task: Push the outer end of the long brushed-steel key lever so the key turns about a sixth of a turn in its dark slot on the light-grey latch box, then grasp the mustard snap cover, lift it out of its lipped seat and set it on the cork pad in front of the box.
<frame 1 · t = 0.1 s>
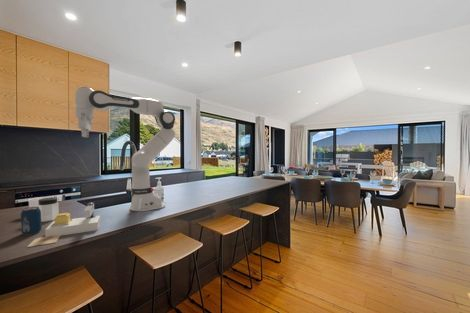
hand: (85, 137, 126), 48 cm above the countertop, fingers open, 8 cm apart
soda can: (31, 233, 100), on the countertop
jar: (48, 219, 119), on the countertop
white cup: (37, 214, 128), on the countertop
latch box: (75, 229, 104), on the countertop
t key: (89, 212, 106), point 8 cm above the countertop, hinge at 0.0°
cork pad: (45, 241, 91), on the countertop
snap cover: (62, 223, 102), point 4 cm above the countertop, touching latch box
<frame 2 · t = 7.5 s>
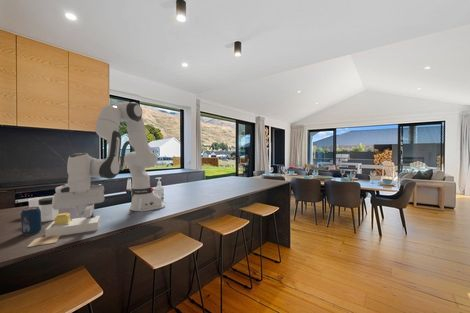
hand: (80, 214, 100), 9 cm above the countertop, fingers closed
t key: (89, 212, 106), point 8 cm above the countertop, hinge at 0.1°, touching gripper
everything else where it was.
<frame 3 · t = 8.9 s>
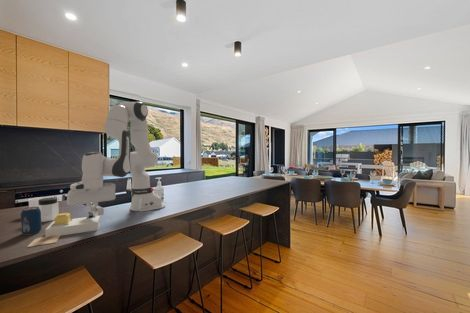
hand: (92, 211, 103), 9 cm above the countertop, fingers closed
t key: (94, 211, 108), point 8 cm above the countertop, hinge at 26.4°, touching gripper
everything else where it was.
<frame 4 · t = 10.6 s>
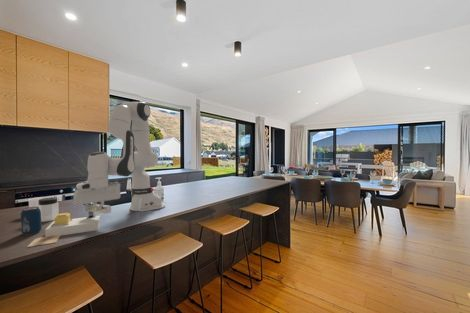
hand: (98, 210, 105), 9 cm above the countertop, fingers closed
t key: (98, 210, 109), point 8 cm above the countertop, hinge at 45.3°, touching gripper
everything else where it was.
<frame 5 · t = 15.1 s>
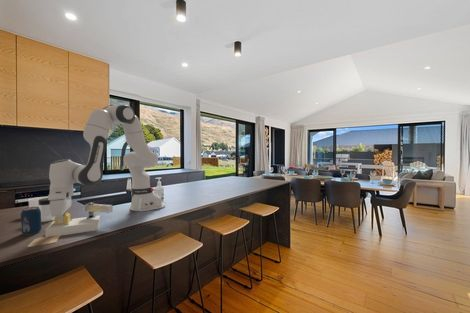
hand: (62, 220, 102), 6 cm above the countertop, fingers closed on snap cover, 5 cm apart
t key: (98, 210, 110), point 8 cm above the countertop, hinge at 50.3°
snap cover: (62, 223, 102), point 4 cm above the countertop, touching gripper, latch box
everything else where it was.
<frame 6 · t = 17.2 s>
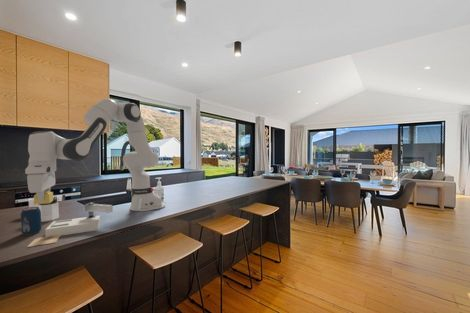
hand: (44, 199, 90), 19 cm above the countertop, fingers closed on snap cover, 5 cm apart
snap cover: (43, 202, 90), point 17 cm above the countertop, touching gripper
everything else where it was.
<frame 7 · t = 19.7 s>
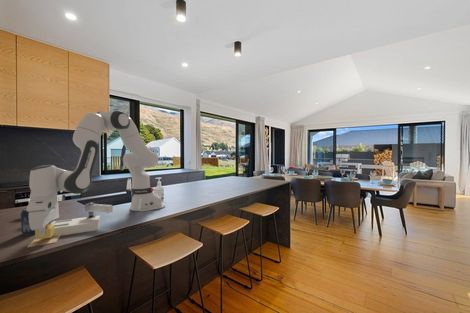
hand: (45, 232, 91), 4 cm above the countertop, fingers closed on snap cover, 5 cm apart
snap cover: (45, 236, 91), point 2 cm above the countertop, touching gripper
everything else where it was.
when the fingers open (4 cm above the countertop, at t = 19.8 s): snap cover drops 2 cm, resting on cork pad.
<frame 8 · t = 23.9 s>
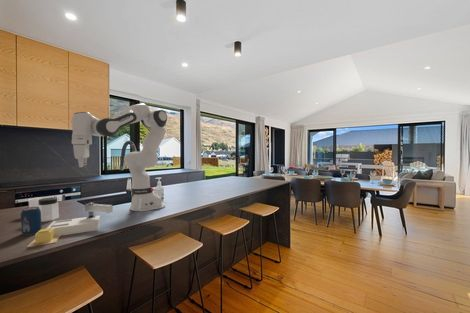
hand: (82, 166, 114), 31 cm above the countertop, fingers open, 8 cm apart
snap cover: (45, 240, 91), resting on cork pad
everything else where it was.
at the end: t key at +50° (first picture: +0°); snap cover inside the target area on the cork pad (0.0 cm from its centre), point 0.4 cm above the cork pad's base; snap cover tilted 0° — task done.
